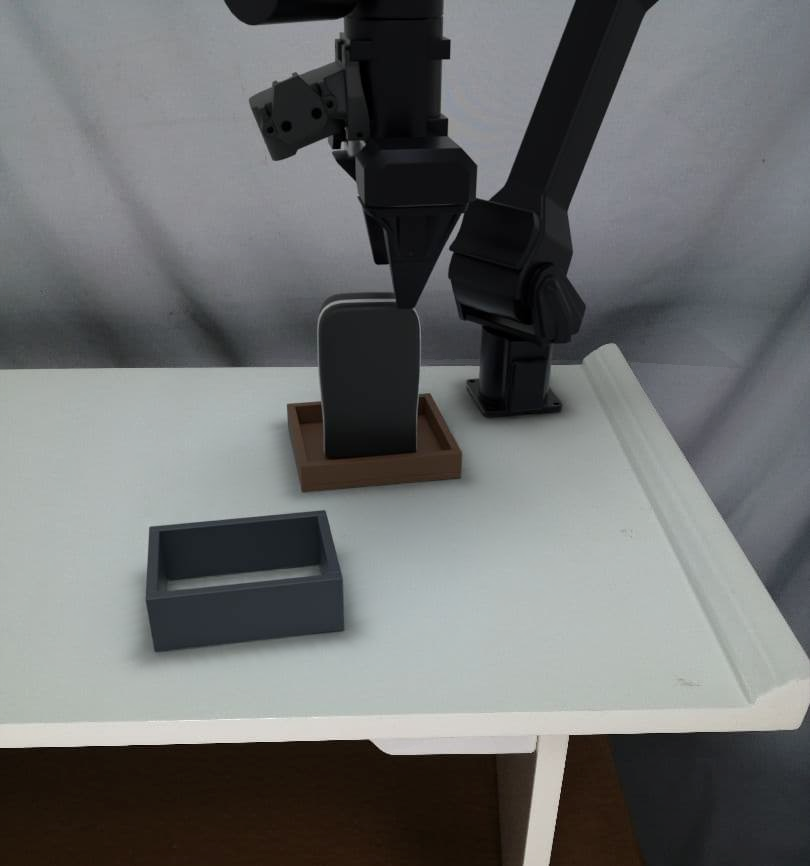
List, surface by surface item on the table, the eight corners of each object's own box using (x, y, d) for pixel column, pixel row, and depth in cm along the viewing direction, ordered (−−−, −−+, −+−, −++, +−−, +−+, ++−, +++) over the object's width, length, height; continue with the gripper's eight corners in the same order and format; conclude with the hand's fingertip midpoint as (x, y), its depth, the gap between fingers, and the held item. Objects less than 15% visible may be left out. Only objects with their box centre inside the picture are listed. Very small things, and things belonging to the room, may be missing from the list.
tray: (288, 427, 73) (286, 403, 72) (429, 415, 75) (430, 392, 74) (302, 492, 65) (300, 466, 64) (461, 477, 67) (462, 452, 66)
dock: (157, 576, 56) (148, 526, 54) (327, 558, 58) (325, 509, 56) (154, 652, 50) (145, 599, 48) (344, 630, 52) (342, 578, 50)
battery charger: (414, 434, 71) (416, 284, 65) (420, 458, 68) (423, 303, 62) (321, 438, 70) (314, 286, 64) (322, 462, 67) (315, 305, 61)
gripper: (244, 4, 61) (262, 250, 69) (260, 33, 45) (281, 344, 54) (415, 4, 62) (412, 243, 71) (486, 31, 47) (472, 332, 56)
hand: (393, 284), depth 63 cm, fingers open, 9 cm apart
